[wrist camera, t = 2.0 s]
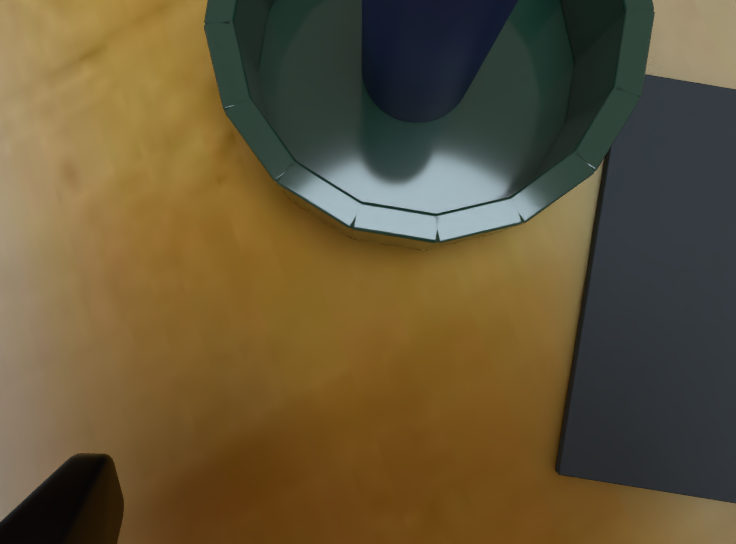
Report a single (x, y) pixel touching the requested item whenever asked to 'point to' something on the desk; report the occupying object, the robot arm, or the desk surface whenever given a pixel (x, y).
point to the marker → (426, 52)
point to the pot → (432, 138)
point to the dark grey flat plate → (661, 303)
